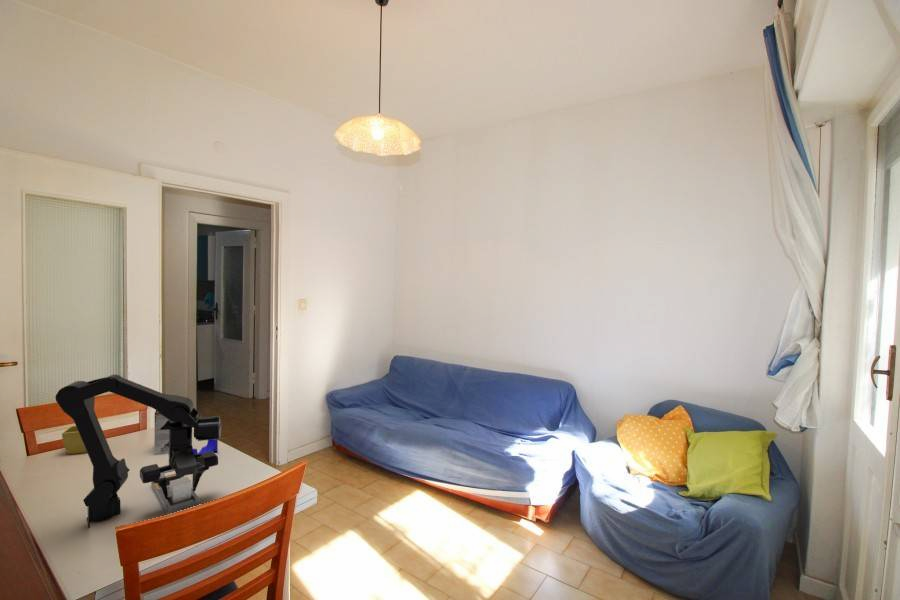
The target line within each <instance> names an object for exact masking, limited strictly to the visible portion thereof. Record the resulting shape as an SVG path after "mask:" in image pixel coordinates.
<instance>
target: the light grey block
mask: <svg viewBox="0 0 900 600" xmlns="http://www.w3.org/2000/svg"><path fill="white" fill-rule="evenodd" d="M183 477H184V478H180V479H176V480H172V481H170V505H171V506H172V505H175V504H179V503H182V502H185V501H189V500H191V488H192V481H191V479H190V478H189V477H188V476H183Z"/></svg>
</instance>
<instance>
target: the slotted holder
mask: <svg viewBox="0 0 900 600" xmlns="http://www.w3.org/2000/svg"><path fill="white" fill-rule="evenodd" d="M164 476H165V478H166V479H167V480H166V485H167V492H168V499H165V497H164V494H163V492H162V489H161V487H160V485H159V483H153V482H150V486H151V489H152V490H153V492H154V494H155V495H156V497H157V499H158V501H159V503H160V505H161V506H162V509H163V510H164V512H165V515H167V514H170V513H174V512H177V511H180V510H184V509H187V508H190V507H193V506H197V505H199V504H201V499H200V497H199V495H197V493H196V491H194V492H193V488H192V487H191V500H189V501H185V502H182V503H179V504H175V505H172V506H171V505H170V481H172V480H176V479H180V478H184V477H185V476H183V477H177V476H176V473H172V474H169V475H164Z"/></svg>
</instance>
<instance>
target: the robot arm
mask: <svg viewBox="0 0 900 600" xmlns="http://www.w3.org/2000/svg"><path fill="white" fill-rule="evenodd" d="M108 392H109V393H113V394H115V395H118V396H120V397H122V398H125V399H128V400H131V401H133V402H136V403H138V404H142V405H144V406H146V407H149V408H152V409H153V410H155V411H156V410H157V411H158V412H159V413H160V414H161V415H162V416H164V417H166V418H167V419H168V420H167V422H166V423H165V424H163V426H162V427H161V428H160V429H161V430H168V429H169V453H168V465H167V464H166V465H164V466H159V465H158V463H154V464H149V465H145V466H142V467H141V468H140V469H139V477H140V480H141V482H142V484H148V483H151V482H153V483H159V485H160V487H161V489H162V492H163V494H164V497H165V499H168V492H167V485H166V480H167V479H166V478H165V476H166V475H165V474H166V473H171V472H175V473H174V474H176V476H177V477H187V476H188V475H192V481H191V488H192V489H193V492H196V490H197V487H198V485H199V482H200V480H201V477H202V475H203V474H204V472H206V471H208V470H209V469H210V468H211V467H215V466H217V465H219V457H218V455H217V454H215V453H214V452H212V451H210V452H205V453H201V454H195V455H194V453H193V449H194V448H193V438H194V439H195V440H196V441H198V442H201V441H208V440H213V439H218V440H220V439H221V434H222V423H221V415H212V416H205V417H202V415H201V413H200V412H199V411H198V409H196V408H195V406H194V401H193V400H192V399H191V398H189V397H185V396H180V395H177V394H166V393H163V392H160V391H157V390H155V389H152V388H149V387H147V386H145V385H142V384H141V383H140V384H139V383H137V382H135V381H132V380H129V379H127V378H124V377H123V376H121V375H119V374H111V375H108V376H107V377H105V376H104V377H101V378H96V379H92V380H90V381H85V380H76V381H74V382H72V383H69V384H67V385H65V386H63V387H61V388H60V389H59V390H58V391H57V392H56V394H55V397H54V398H55V402H56V403H57V405H58V406H59V407H60V408H61V410H62V412H64V413H65V414H66V415H68V417H70V418H71V419H72V420H73V422H74V426H76V427H77V430H78V432H79V434H80V437H81V439H82V441H83V444H84V446H85V448H86V451H87V452H86V453H87V455H88V457H89V459H90V460H89V461H90V463H91V465H92V484H93V488H92V489H91V490H90V492H89V493H87V494H86V496H85V497H84V498H83V500H82V501H83V503H84V505H85V507H87V517H86V523H87V528H88V529H91V526H90V525H91V524H90V523H101V522H104V521H108V520H110V519H112V518H114V517H116V516H118V515H120V514H121V499H120V498H121V497H119V495H118V491H120V489H121V488H122V486H123V485H124V484H125V483H126V481H127V479H128V477H129V472H130V468H128V466H127V463H126V460H125V458H122V459H119V460H118V459H117V458H116V457H114V455H113V452H112V450H111V448H110V446H109V443H108V440H107V439H106V436H105V433H104V431H103V428H102V426H101V424H100V421H99V419H98V417H97V414H96V411H95V399H96V398H95V397H98V396H99V395H102V394H106V393H108Z"/></svg>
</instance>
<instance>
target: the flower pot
mask: <svg viewBox="0 0 900 600" xmlns="http://www.w3.org/2000/svg"><path fill="white" fill-rule="evenodd" d="M61 435H62V437H61V438H62V443H63V447H64V449H65V450H66V452H67V453H69V454H70V455H75V454H81V453H82V454H83V453H87V451H86V448H85V446H84V444H83V441H82V439H81V437H80V434H79V432H78V430H77V427H76V425H71V426H70V427H68V428H66V429H65V430H64V431H63V432H61Z"/></svg>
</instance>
